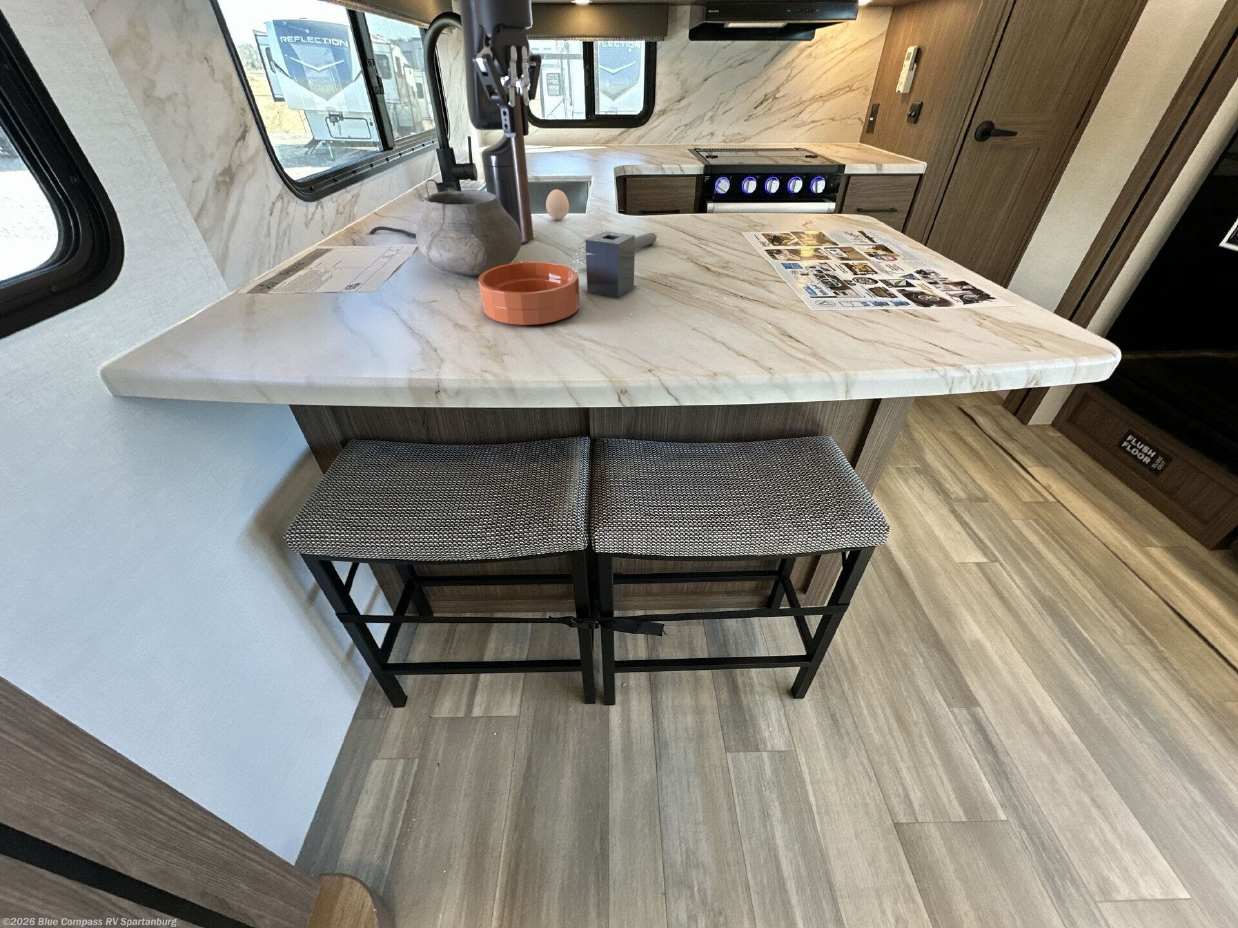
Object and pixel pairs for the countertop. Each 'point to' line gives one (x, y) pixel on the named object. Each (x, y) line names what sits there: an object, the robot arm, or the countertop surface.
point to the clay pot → (467, 232)
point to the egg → (557, 204)
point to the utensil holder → (610, 263)
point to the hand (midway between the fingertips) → (516, 135)
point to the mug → (443, 186)
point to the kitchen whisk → (639, 242)
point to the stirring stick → (522, 178)
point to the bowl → (529, 292)
